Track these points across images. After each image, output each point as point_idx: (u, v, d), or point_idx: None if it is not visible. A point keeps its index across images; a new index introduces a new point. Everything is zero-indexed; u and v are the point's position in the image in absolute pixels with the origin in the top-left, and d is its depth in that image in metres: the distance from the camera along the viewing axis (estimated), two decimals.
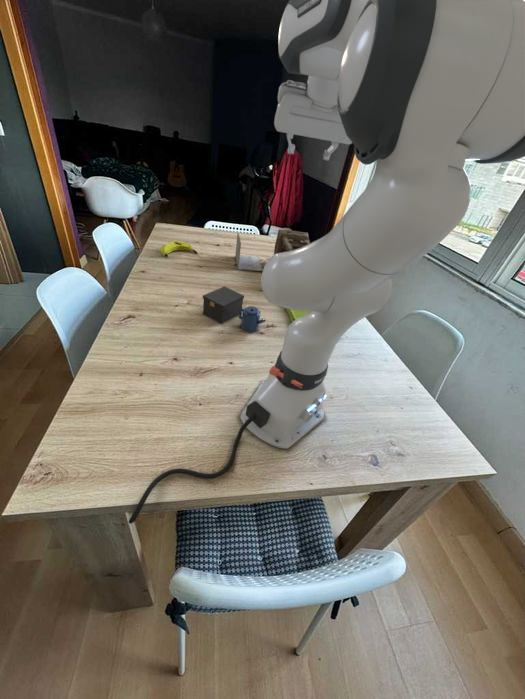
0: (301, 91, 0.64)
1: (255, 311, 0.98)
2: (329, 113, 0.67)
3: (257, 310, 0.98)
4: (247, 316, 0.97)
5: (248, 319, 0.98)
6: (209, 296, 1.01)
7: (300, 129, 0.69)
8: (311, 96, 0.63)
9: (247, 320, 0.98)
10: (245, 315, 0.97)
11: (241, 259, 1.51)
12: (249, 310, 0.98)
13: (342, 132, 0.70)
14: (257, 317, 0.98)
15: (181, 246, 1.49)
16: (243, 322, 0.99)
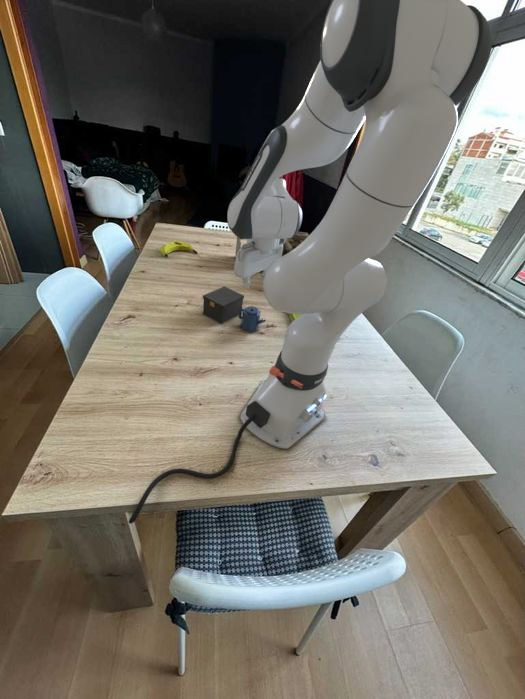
0: (251, 247, 0.81)
1: (255, 311, 0.98)
2: None
3: (257, 310, 0.98)
4: (247, 316, 0.97)
5: (248, 319, 0.98)
6: (209, 296, 1.01)
7: (255, 270, 0.86)
8: (262, 248, 0.82)
9: (247, 320, 0.98)
10: (245, 315, 0.97)
11: None
12: (249, 310, 0.98)
13: (274, 259, 0.92)
14: (257, 317, 0.98)
15: (181, 246, 1.49)
16: (243, 322, 0.99)
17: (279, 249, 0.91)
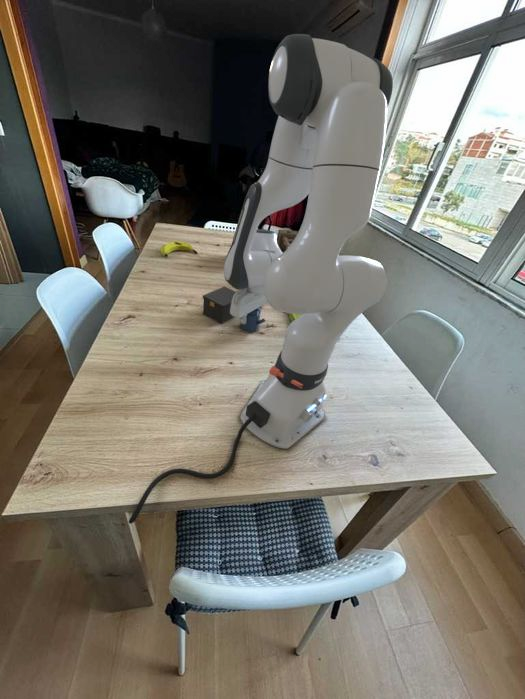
0: (246, 291, 0.89)
1: (255, 311, 0.98)
2: None
3: (257, 310, 0.98)
4: (247, 316, 0.97)
5: (248, 319, 0.98)
6: (209, 296, 1.01)
7: (250, 309, 0.94)
8: (256, 291, 0.90)
9: None
10: None
11: None
12: None
13: None
14: (257, 317, 0.98)
15: (181, 246, 1.49)
16: None
17: None
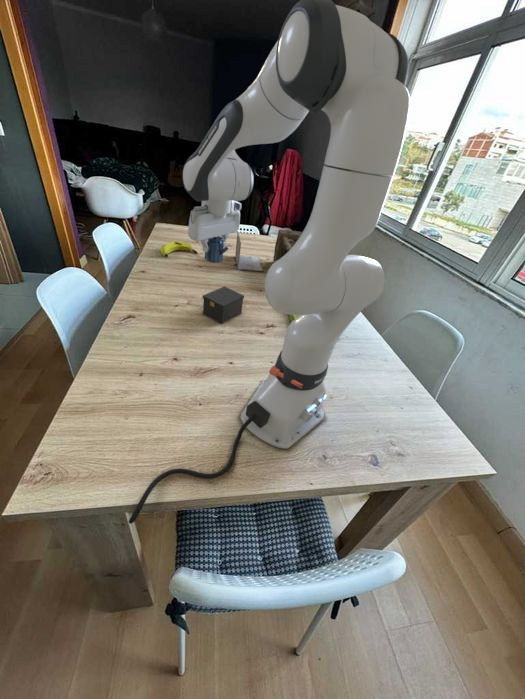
0: (204, 211, 0.85)
1: (217, 239, 0.94)
2: None
3: (220, 238, 0.94)
4: (209, 243, 0.93)
5: (210, 247, 0.94)
6: (209, 296, 1.01)
7: (210, 234, 0.90)
8: (215, 212, 0.86)
9: None
10: (207, 243, 0.93)
11: (241, 259, 1.51)
12: (211, 238, 0.94)
13: (232, 226, 0.96)
14: (220, 245, 0.94)
15: (181, 246, 1.49)
16: None
17: (236, 216, 0.95)
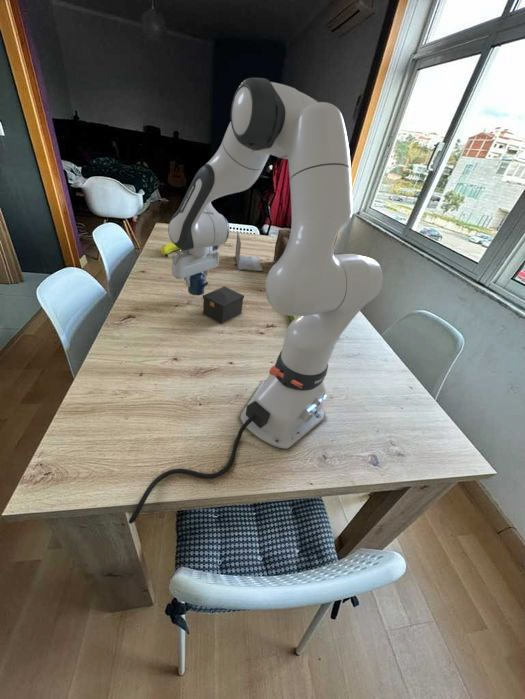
0: (185, 253, 0.97)
1: (199, 275, 1.06)
2: (203, 257, 1.03)
3: (201, 274, 1.06)
4: (191, 279, 1.05)
5: (192, 282, 1.05)
6: (209, 296, 1.01)
7: (192, 272, 1.02)
8: (195, 254, 0.98)
9: None
10: None
11: (241, 259, 1.51)
12: None
13: (212, 263, 1.08)
14: (201, 280, 1.06)
15: None
16: None
17: (215, 254, 1.07)
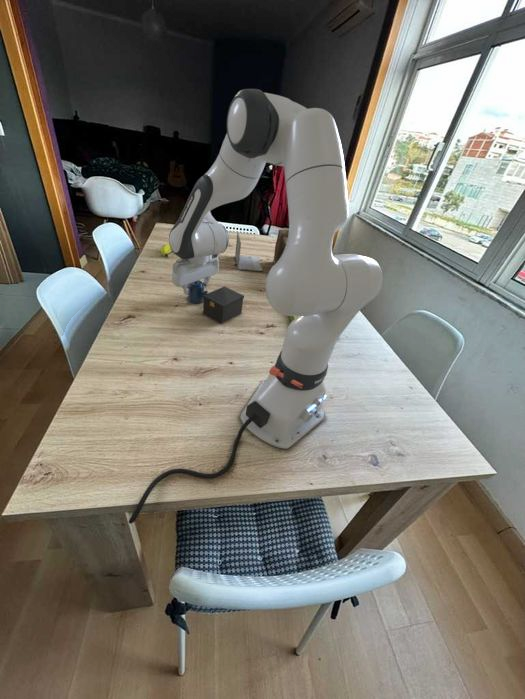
0: (185, 261, 0.99)
1: (198, 284, 1.08)
2: None
3: (201, 283, 1.08)
4: (191, 288, 1.07)
5: (192, 291, 1.07)
6: (209, 296, 1.01)
7: (191, 279, 1.03)
8: (195, 262, 0.99)
9: (191, 292, 1.08)
10: (189, 287, 1.07)
11: (241, 259, 1.51)
12: (193, 283, 1.08)
13: (211, 270, 1.10)
14: (200, 289, 1.08)
15: None
16: (188, 294, 1.09)
17: (215, 262, 1.09)
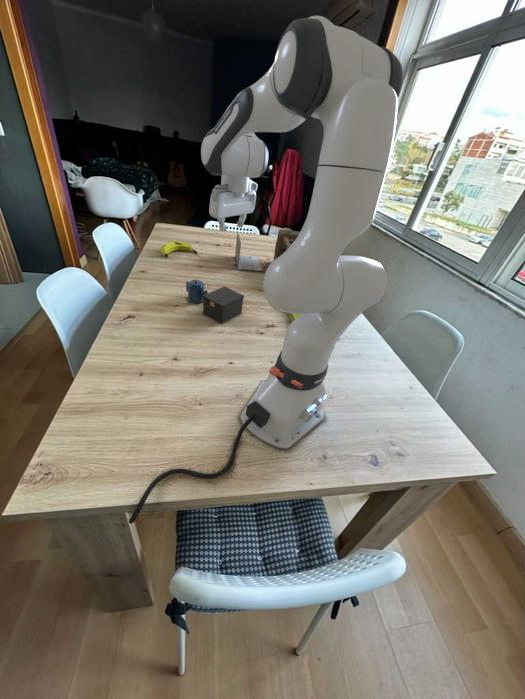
0: (224, 189, 0.90)
1: (198, 284, 1.08)
2: (241, 197, 0.96)
3: (201, 283, 1.08)
4: (191, 288, 1.07)
5: (192, 291, 1.07)
6: (209, 296, 1.01)
7: (229, 212, 0.94)
8: (234, 190, 0.90)
9: (191, 292, 1.08)
10: (189, 287, 1.07)
11: (241, 259, 1.51)
12: (193, 283, 1.08)
13: (248, 206, 1.01)
14: (200, 289, 1.08)
15: (181, 246, 1.49)
16: (188, 294, 1.09)
17: (252, 197, 1.00)
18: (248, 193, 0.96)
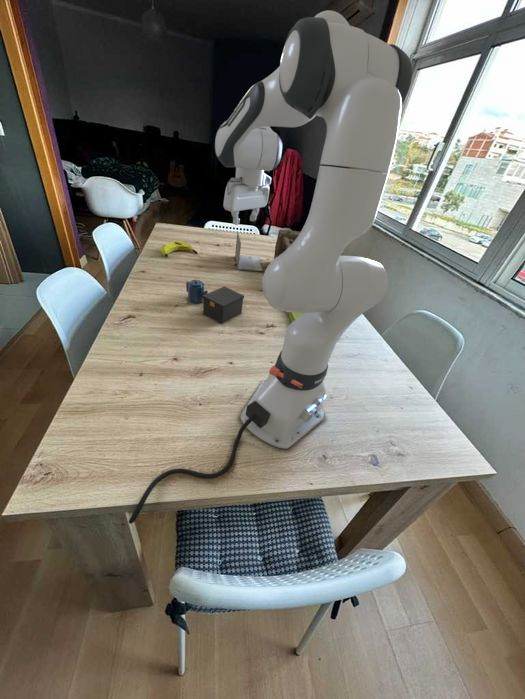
0: (239, 182, 0.90)
1: (198, 284, 1.08)
2: (254, 191, 0.96)
3: (201, 283, 1.08)
4: (191, 288, 1.07)
5: (192, 291, 1.07)
6: (209, 296, 1.01)
7: (243, 206, 0.95)
8: (249, 184, 0.91)
9: (191, 292, 1.08)
10: (189, 287, 1.07)
11: (241, 259, 1.51)
12: (193, 283, 1.08)
13: (261, 200, 1.01)
14: (200, 289, 1.08)
15: (181, 246, 1.49)
16: (188, 294, 1.09)
17: (265, 191, 1.00)
18: (262, 187, 0.97)
